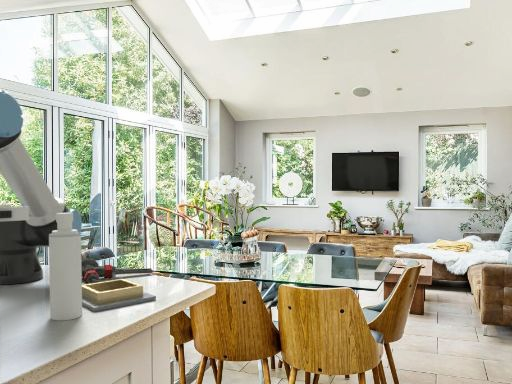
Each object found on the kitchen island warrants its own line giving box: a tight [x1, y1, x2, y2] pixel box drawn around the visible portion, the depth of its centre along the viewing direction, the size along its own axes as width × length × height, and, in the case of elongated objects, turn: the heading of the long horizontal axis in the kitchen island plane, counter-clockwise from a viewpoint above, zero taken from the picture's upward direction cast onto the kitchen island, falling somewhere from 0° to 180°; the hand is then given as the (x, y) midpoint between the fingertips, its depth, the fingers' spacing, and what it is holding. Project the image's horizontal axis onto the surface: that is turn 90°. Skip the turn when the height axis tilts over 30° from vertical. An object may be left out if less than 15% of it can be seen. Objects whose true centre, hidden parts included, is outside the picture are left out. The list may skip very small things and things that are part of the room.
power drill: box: [81, 258, 153, 284], centre depth 144 cm, size 6×26×15 cm
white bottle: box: [48, 213, 83, 322], centre depth 103 cm, size 7×7×25 cm
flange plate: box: [82, 278, 157, 313], centre depth 119 cm, size 18×16×4 cm
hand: (19, 211), depth 97 cm, fingers open, 13 cm apart
